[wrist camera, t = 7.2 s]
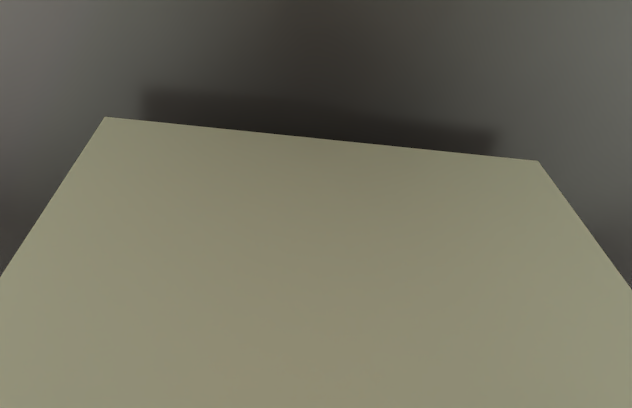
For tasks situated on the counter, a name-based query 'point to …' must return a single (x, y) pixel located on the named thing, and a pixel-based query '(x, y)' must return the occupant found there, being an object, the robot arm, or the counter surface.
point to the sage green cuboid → (308, 280)
